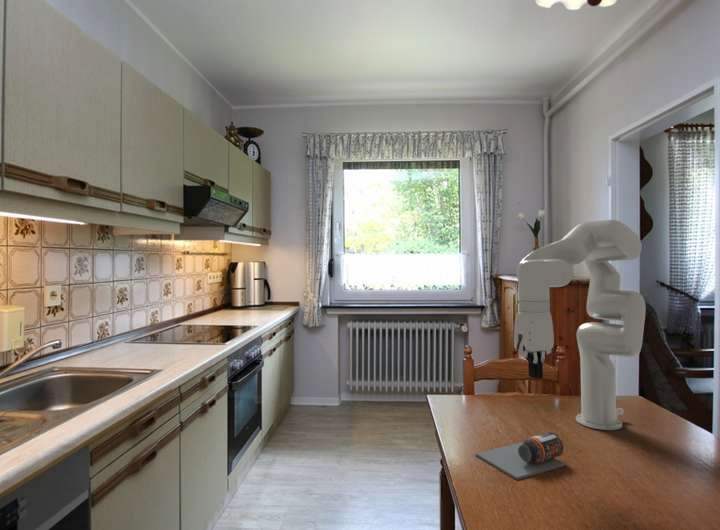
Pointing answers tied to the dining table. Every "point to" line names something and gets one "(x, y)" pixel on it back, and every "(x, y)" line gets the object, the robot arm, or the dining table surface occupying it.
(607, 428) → the robot arm
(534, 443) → the supplement bottle
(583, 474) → the dining table surface
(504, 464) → the mat
